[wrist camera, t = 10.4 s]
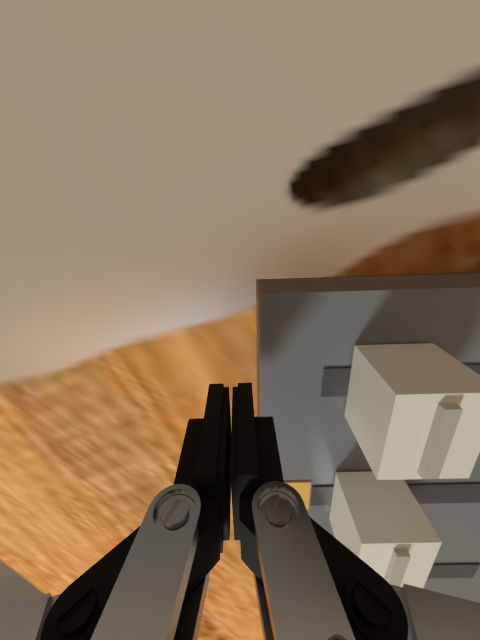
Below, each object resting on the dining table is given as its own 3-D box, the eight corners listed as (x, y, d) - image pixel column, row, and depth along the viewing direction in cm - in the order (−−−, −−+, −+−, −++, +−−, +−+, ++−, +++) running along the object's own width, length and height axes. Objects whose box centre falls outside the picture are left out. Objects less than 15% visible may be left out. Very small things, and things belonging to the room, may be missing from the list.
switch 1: (433, 343, 12) (513, 398, 9) (414, 414, 14) (475, 485, 10) (354, 345, 12) (401, 400, 9) (344, 415, 14) (380, 487, 10)
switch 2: (398, 471, 15) (446, 550, 12) (386, 517, 17) (425, 600, 13) (335, 472, 15) (364, 551, 12) (329, 518, 17) (352, 600, 13)
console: (619, 268, 13) (702, 281, 11) (471, 563, 23) (498, 604, 20) (256, 279, 14) (259, 294, 11) (258, 566, 23) (261, 608, 21)
